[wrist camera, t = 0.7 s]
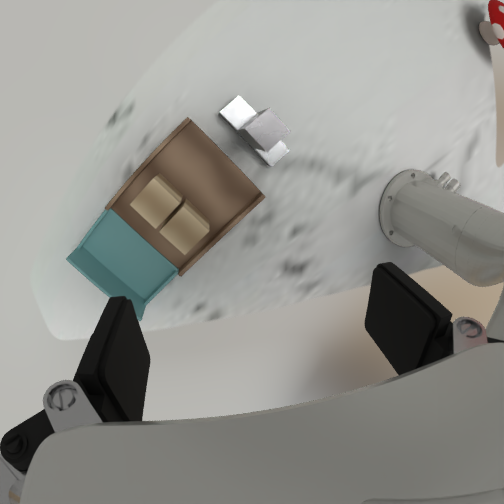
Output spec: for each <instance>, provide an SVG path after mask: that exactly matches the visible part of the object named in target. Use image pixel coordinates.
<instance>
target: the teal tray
mask: <svg viewBox="0 0 504 504" xmlns="http://www.w3.org/2000/svg"><path fill="white" fill-rule="evenodd" d="M66 260H67V261H68V262H69V263H70V264H72V265H73V266H74V267H75V268H76V269H77V270H78V271H79V272H80V273H81V274H83V275H84V276H85V277H86V278H87V279H88V280H89V281H91V282H92V283H93V284H94V285H95V286H96V287H98V288H99V289H100V290H101V291H102V292H104V293H105V294H106V295H107V296H108V297H116V296H126V298H127V299H131V301H132V303H133V306H134V310H135V313H136V316H137V319H138V320H139V321H141V320H142V317H143V313H144V310H145V307H146V305H147V304H148V303H149V302H150V301H151V300H152V299H153V298H154V297H155V296H156V295H157V294H158V293H159V292H160V291H161V290H162V289H163V288H164V287H165V286H166V285H167V284H168V283H169V282H170V281H171V280H172V279H173V278H174V277H175V276H176V275H177V274H178V271H179V269H178V268H177V267H176V266H175V265H174V264H172V263H171V262H170V261H169V260H168V259H167V258H166V257H164V256H163V255H162V254H161V253H160V252H159V251H158V250H157V249H155V248H154V247H153V246H152V245H151V244H150V243H149V242H148V241H146V240H145V239H144V238H143V237H142V236H141V235H140V234H139V233H138V232H136V231H135V230H134V229H133V228H132V227H131V226H130V225H129V224H128V223H127V222H126V221H125V220H123V219H122V218H121V217H120V216H119V215H118V214H117V213H116V212H115V211H114V210H113V209H112V208H110V209H109V210H108V211H107V210H106V209H105V211H104V212H103V213H102V214H101V216H100V217H99V218H98V220H97V221H96V222H95V224H94V225H93V226H92V228H91V229H90V230H89V232H88V233H87V234H86V236H85V237H84V238H83V240H82V241H81V243H80V244H79V245H78V247H77V248H76V249H75V250H74V251H73V252H72V253H71V254H70V255H69V256H68V257H67V259H66Z"/></svg>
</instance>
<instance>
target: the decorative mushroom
mask: <svg viewBox="0 0 504 504" xmlns="http://www.w3.org/2000/svg"><path fill="white" fill-rule="evenodd" d="M488 11H489V17H490V22H487V21H483V22H480V24H479V31H480V34H481V36H482V38H483V39H484V40H485V41H486V42H487V43H488V44H489V45H497V44H499V43H500V44H501V45H502V47H503V48H504V4H503V3H502V2H500V1H498V0H490V1H489V3H488Z"/></svg>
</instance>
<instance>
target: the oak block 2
mask: <svg viewBox="0 0 504 504" xmlns="http://www.w3.org/2000/svg"><path fill="white" fill-rule="evenodd" d="M159 232H160V233H161V234H162V235H163V236H164V237H165V238H166V239H167V240H168V241H170V242H171V243H172V244H173V245H174V246H175V247H176V248H177V249H179V250H180V251H181V252H182V253H183V254H184V255H186V254H187V253H188V252H189V251H190V250H191V249H192V248H193V247H194V246H195V245H196V244H197V243H198V242H199V241H200V240H201V239H202V238H203V237H204V236H205V235H206V234H207V233H208V232H209V220H208V219H207V218H206V217H205V216H204V215H203V214H202V213H201V212H200V211H199V210H198V209H197V208H195V207H194V206H193V205H192V204H191V203H190V202H189V201H188V200H187V199H185V200H184V201H183V202H182V203H181V204H180V205H179V206H178V207H177V208H176V209H175V210H174V211H173V212H172V213H171V215H170V216H169V217H168V218H167V219H166V220H165V221H164V222H163V224H162V227H161V229H160V231H159Z"/></svg>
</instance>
